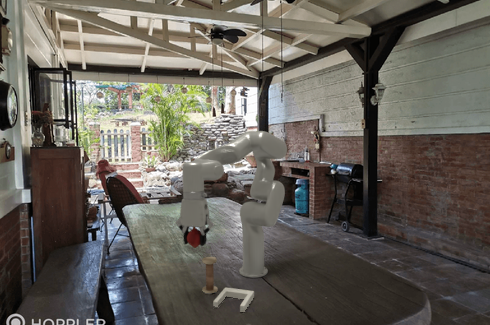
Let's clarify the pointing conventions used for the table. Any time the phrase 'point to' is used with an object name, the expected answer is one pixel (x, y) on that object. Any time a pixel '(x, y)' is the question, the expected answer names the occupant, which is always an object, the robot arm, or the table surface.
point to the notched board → (235, 293)
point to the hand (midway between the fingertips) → (195, 243)
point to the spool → (209, 275)
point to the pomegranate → (194, 237)
